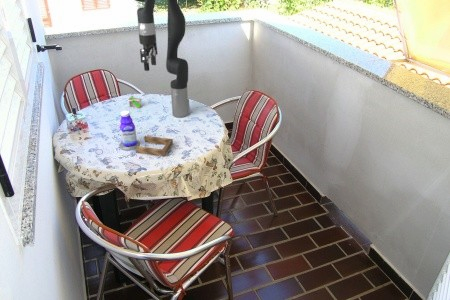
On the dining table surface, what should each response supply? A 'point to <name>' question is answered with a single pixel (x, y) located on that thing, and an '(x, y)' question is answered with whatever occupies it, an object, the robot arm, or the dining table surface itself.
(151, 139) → the wooden frame
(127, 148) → the coaster
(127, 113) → the bottle
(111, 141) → the dining table surface
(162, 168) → the dining table surface
